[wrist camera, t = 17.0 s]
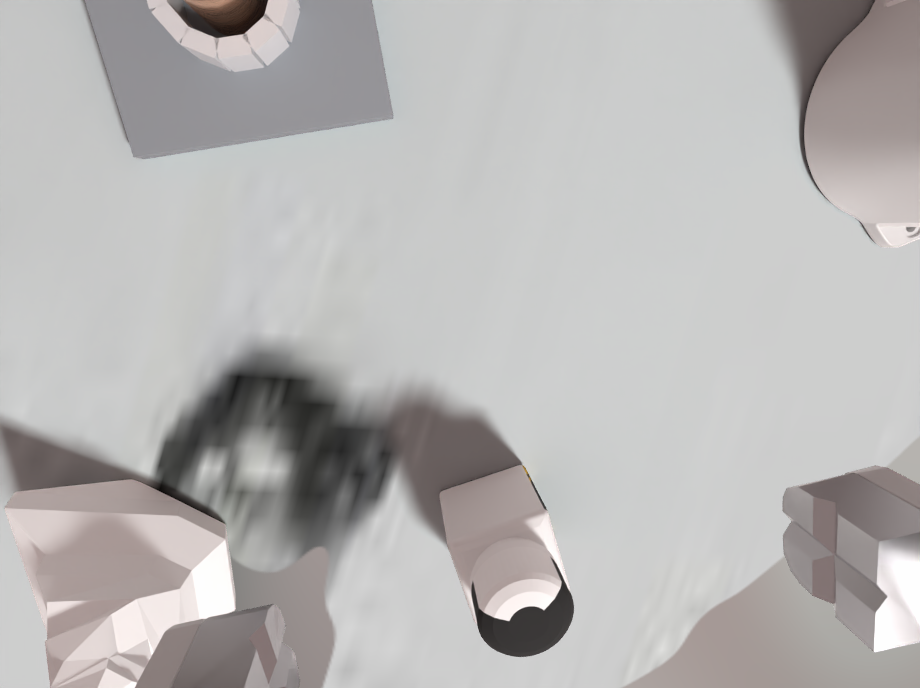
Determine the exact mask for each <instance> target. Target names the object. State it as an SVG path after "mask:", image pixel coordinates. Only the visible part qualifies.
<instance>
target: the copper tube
mask: <svg viewBox="0 0 920 688" xmlns="http://www.w3.org/2000/svg"><path fill="white" fill-rule="evenodd" d="M184 1H185V2H186V3H187V4H188V5H189V6H190V7H191V8H192V9H193V10H194V11H195V12H196V13H197V14H198V15H199V16H200V17H201V18H202V19H204V20H205V21H206V22H207V23H208V24H209V25H210V26H211V27H212V28H213V29H214V30H216V31H217V32H219V33H221V34H223V35H226V36H235V35H242V34H245V33H246V32H247V31H248V30H249V29H250V28H251V27H252V26H254V25H255V24H256V23H257V22H258V21H259V20H260V19H261V18H262V17H263V16H264V14H265V11H266V7H267V3H268V0H184Z"/></svg>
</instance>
